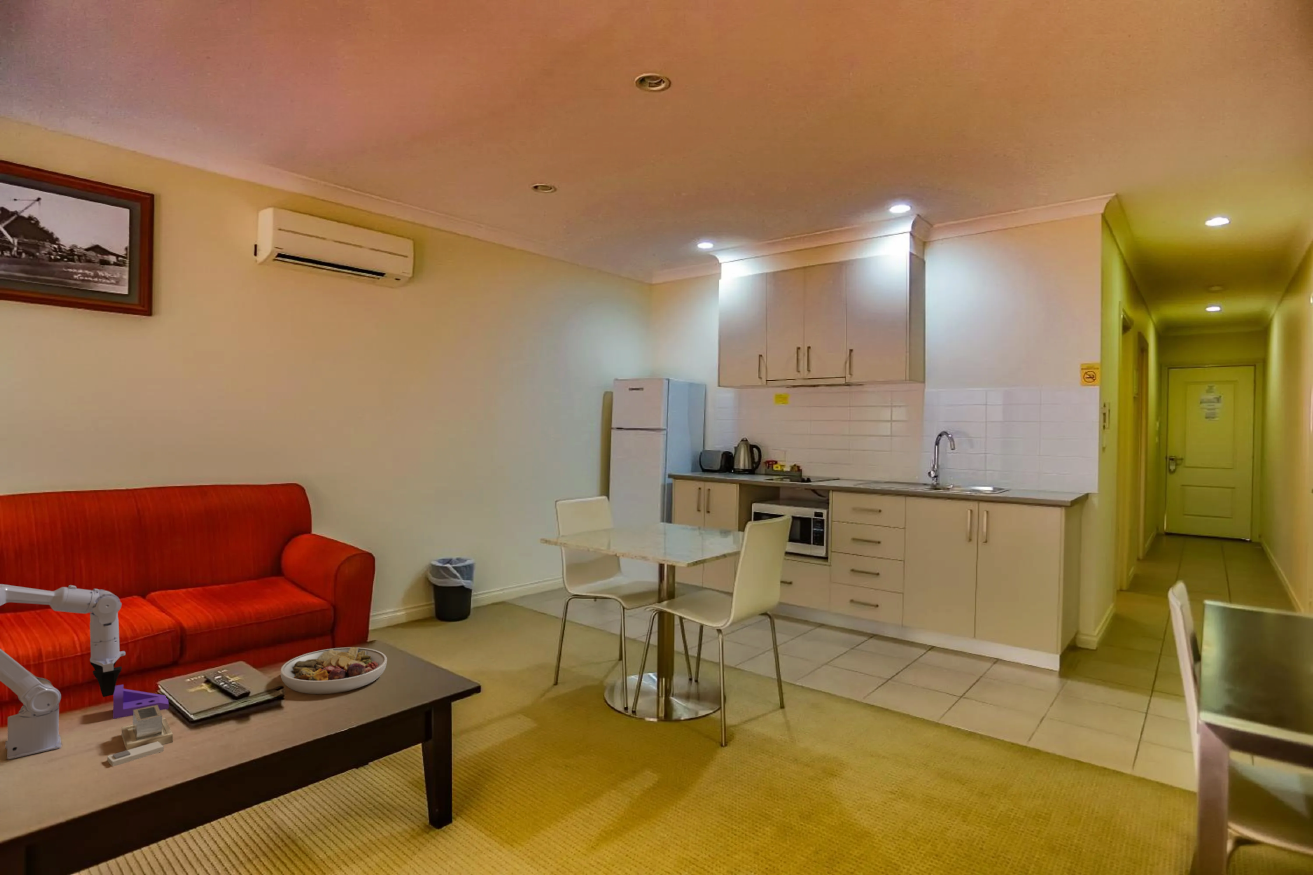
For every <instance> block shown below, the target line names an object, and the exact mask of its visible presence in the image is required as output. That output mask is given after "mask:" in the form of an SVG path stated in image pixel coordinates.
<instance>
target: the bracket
mask: <svg viewBox="0 0 1313 875" xmlns="http://www.w3.org/2000/svg"><path fill="white" fill-rule="evenodd" d="M112 696H113V703H112V704H113V706H112V713H113V714H112V718H113V719H114V720H115V719H120V718H125V717H131V716H132V717H133V710H135V709H140V708H145V707H150V706H155V705H158V707H159V709H160V711H163V710H164V711H165V710H168V709H170V708H169V707H170V704H169V698H168V699H167V698H166V696H167V695H166V696H165V694H157V693H154V692H153V693H152V692H146V691H140V690H134V689H127V688H124V684H118V685H117V684H116V686H115V691H114V694H113V695H112Z"/></svg>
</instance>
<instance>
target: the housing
mask: <svg viewBox="0 0 1313 875" xmlns="http://www.w3.org/2000/svg"><path fill="white" fill-rule="evenodd" d="M162 718H163V714H162V712H161V710H160V709H159V707H158V705H155V706H150V707H145V708H140V709H135V710H133V715H132V725H133V732H134V735H135V738H136V740H137V741H138V740H142V739H147V738H151V737H155V736H159V735H162Z"/></svg>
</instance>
